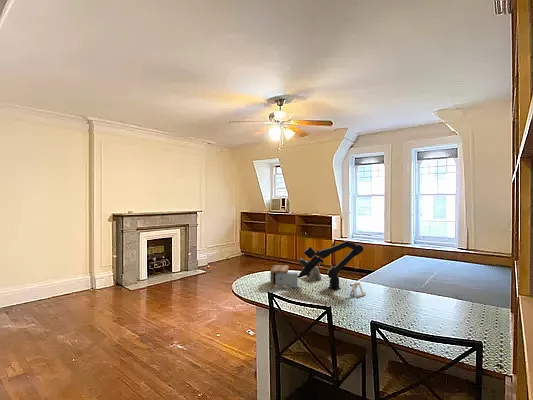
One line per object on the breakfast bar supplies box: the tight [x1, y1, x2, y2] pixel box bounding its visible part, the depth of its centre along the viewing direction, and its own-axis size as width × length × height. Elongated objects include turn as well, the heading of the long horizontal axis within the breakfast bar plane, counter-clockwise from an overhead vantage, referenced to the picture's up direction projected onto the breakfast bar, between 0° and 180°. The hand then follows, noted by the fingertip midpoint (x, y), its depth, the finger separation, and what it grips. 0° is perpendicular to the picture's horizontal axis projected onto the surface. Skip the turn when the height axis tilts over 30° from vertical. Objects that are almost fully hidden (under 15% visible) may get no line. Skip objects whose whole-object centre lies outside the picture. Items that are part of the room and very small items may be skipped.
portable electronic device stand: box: [349, 280, 367, 298], centre depth 212 cm, size 9×8×8 cm
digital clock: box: [306, 266, 322, 281], centre depth 256 cm, size 16×9×11 cm, turn 12°
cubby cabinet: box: [269, 264, 290, 289], centre depth 237 cm, size 14×18×12 cm
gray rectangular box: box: [275, 271, 299, 288], centre depth 231 cm, size 16×5×10 cm, turn 82°
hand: (297, 277), depth 231 cm, fingers closed, pressing on gray rectangular box
